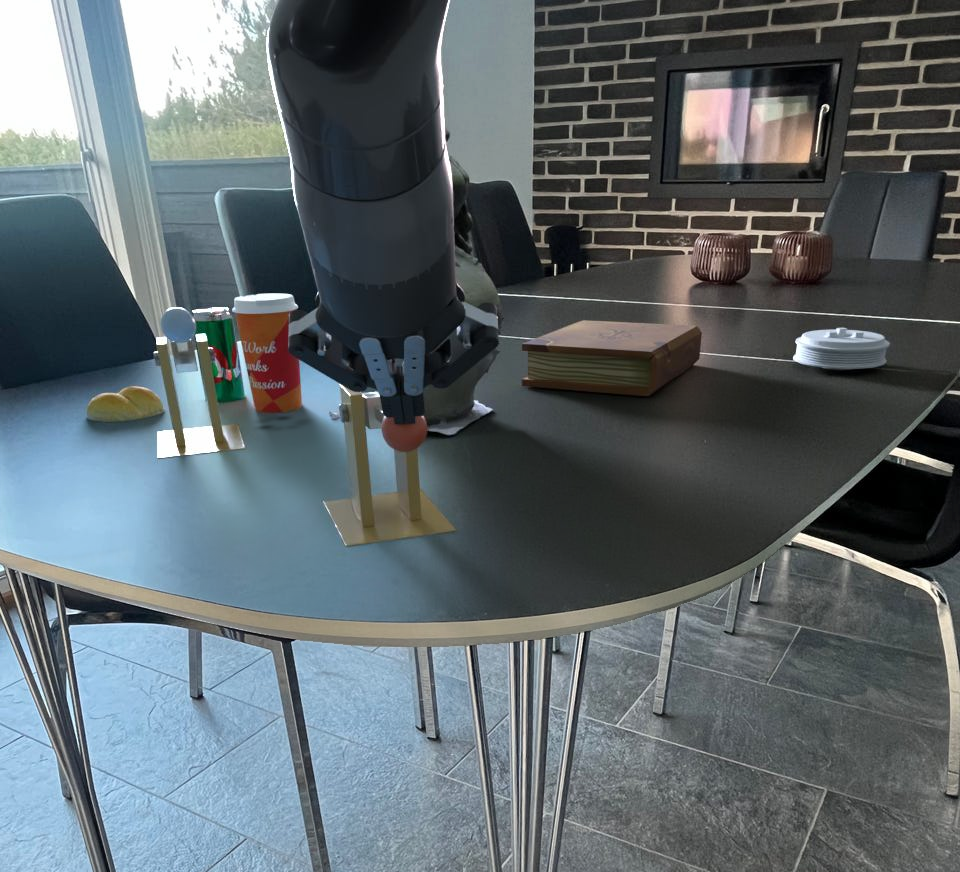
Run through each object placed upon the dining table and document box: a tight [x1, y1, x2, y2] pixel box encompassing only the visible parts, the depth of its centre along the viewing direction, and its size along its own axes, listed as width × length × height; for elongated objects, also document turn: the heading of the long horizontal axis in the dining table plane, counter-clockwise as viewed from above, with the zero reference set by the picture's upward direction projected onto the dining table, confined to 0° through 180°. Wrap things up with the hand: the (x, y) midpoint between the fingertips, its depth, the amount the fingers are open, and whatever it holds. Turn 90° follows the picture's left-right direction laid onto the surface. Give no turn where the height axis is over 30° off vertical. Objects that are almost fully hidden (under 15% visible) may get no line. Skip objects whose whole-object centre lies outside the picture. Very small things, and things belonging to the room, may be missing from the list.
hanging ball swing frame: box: [153, 334, 246, 459], centre depth 93 cm, size 11×9×12 cm
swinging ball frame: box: [323, 384, 457, 548], centre depth 70 cm, size 11×9×12 cm
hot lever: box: [361, 392, 428, 452], centre depth 64 cm, size 12×3×3 cm, turn 18°
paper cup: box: [231, 292, 303, 414], centre depth 105 cm, size 8×8×14 cm
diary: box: [521, 319, 703, 397], centre depth 123 cm, size 23×19×6 cm
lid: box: [792, 327, 891, 371], centre depth 125 cm, size 13×13×5 cm
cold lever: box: [160, 306, 199, 374], centre depth 86 cm, size 12×3×3 cm, turn 18°
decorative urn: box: [328, 127, 505, 436], centre depth 98 cm, size 21×21×35 cm
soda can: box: [192, 306, 246, 404], centre depth 110 cm, size 5×5×12 cm
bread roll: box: [86, 386, 166, 423], centre depth 106 cm, size 8×9×4 cm
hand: (405, 412), depth 59 cm, fingers closed
